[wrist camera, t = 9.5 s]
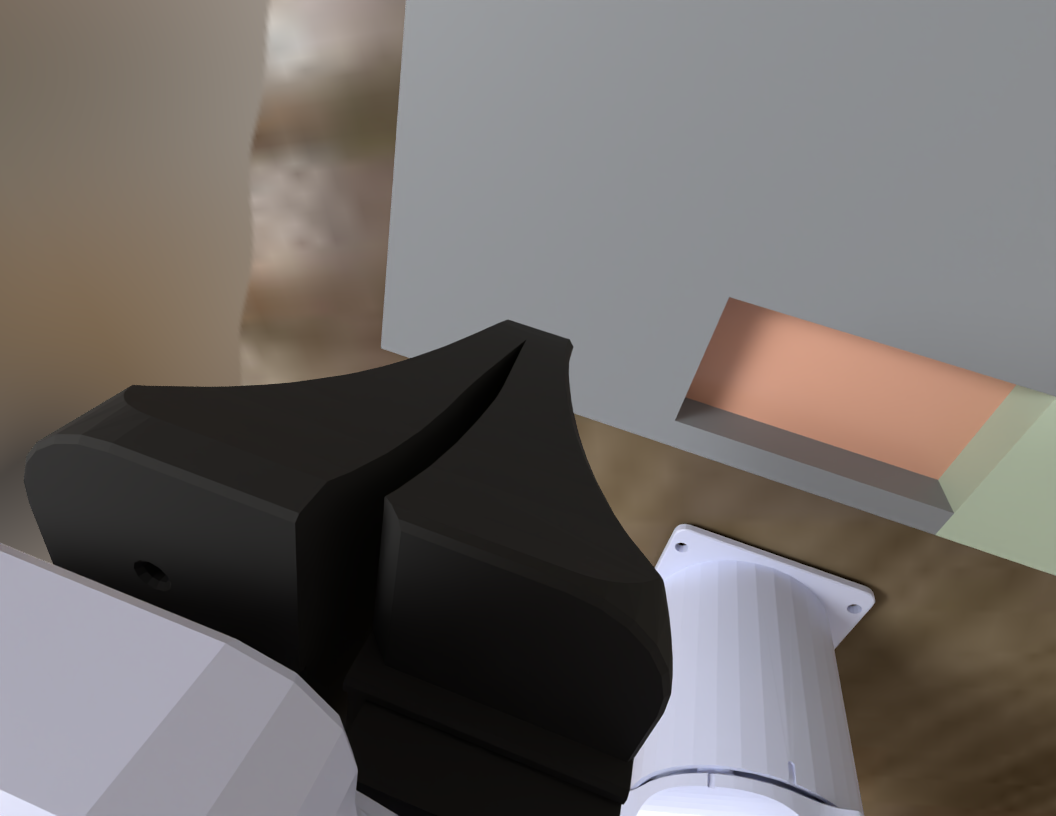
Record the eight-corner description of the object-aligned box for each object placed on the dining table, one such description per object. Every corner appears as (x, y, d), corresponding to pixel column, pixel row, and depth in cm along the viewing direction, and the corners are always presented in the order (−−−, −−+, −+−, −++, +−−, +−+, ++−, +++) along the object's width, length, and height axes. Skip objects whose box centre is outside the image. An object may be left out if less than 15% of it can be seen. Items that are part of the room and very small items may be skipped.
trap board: (1145, 570, 20) (1227, 675, 17) (405, 325, 23) (352, 374, 20) (2140, -228, 9) (2944, -377, 6) (485, -497, 12) (396, -695, 9)
